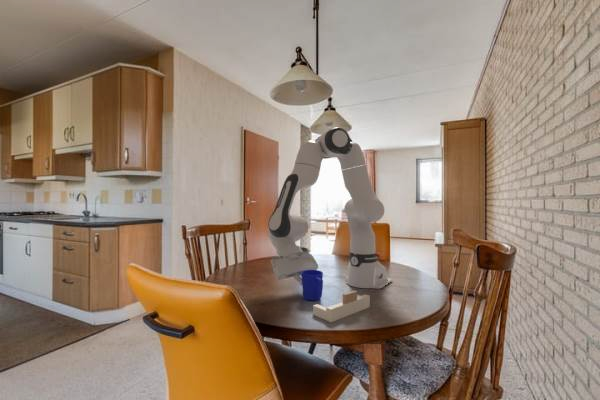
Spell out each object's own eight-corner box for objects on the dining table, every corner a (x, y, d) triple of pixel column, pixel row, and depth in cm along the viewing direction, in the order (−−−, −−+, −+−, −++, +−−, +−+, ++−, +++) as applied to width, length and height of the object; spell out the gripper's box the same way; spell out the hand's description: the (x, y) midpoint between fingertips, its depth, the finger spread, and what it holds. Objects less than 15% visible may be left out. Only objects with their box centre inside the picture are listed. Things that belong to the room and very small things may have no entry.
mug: (310, 307, 103) (311, 278, 103) (298, 296, 114) (298, 270, 114) (331, 303, 106) (331, 276, 106) (316, 293, 117) (317, 269, 117)
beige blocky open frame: (351, 300, 110) (352, 282, 109) (369, 307, 103) (369, 287, 103) (313, 314, 96) (313, 293, 96) (330, 322, 90) (330, 299, 90)
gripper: (272, 253, 113) (287, 284, 106) (311, 247, 127) (326, 275, 119) (265, 262, 117) (279, 293, 109) (304, 256, 130) (319, 283, 123)
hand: (304, 283), depth 114 cm, fingers closed
